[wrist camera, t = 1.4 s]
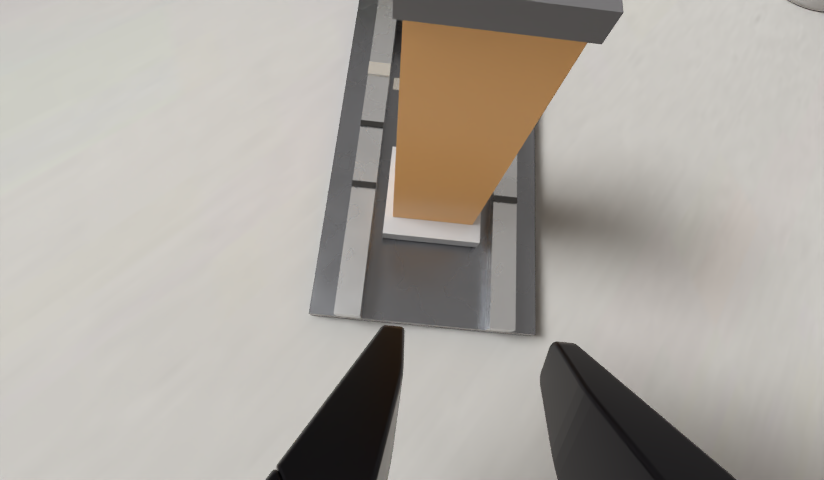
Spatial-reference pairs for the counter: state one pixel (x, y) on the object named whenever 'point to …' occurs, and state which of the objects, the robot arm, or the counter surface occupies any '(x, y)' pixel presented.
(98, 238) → the counter surface
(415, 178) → the fader tab
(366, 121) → the plate
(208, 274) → the counter surface
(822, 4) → the mug
